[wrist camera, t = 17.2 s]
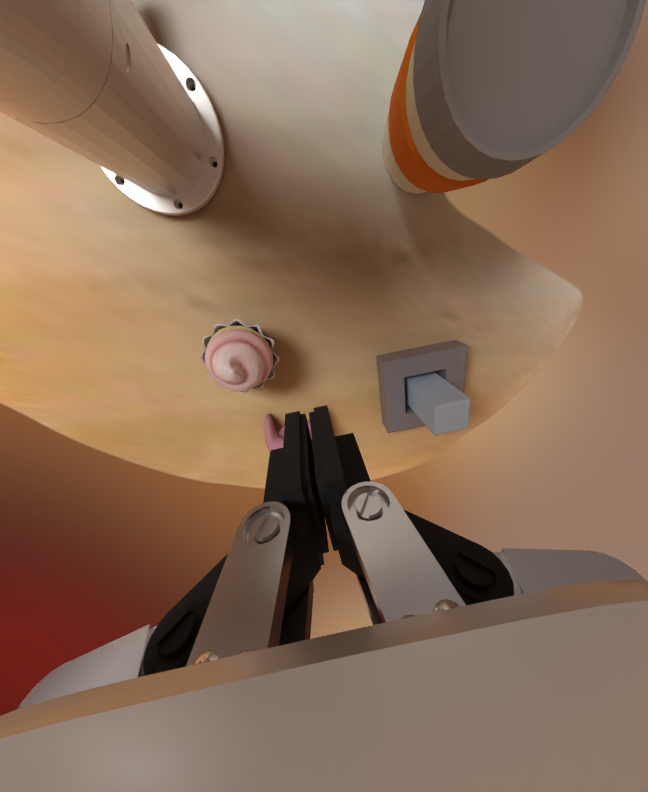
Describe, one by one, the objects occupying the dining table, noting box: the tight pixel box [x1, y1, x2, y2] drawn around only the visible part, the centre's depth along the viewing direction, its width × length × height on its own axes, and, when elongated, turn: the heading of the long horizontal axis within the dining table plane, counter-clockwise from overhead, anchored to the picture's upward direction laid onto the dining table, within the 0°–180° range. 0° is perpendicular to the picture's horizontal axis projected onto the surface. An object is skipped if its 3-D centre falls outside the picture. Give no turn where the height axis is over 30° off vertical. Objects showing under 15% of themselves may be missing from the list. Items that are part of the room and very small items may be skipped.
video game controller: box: [264, 414, 312, 452], centre depth 39 cm, size 10×5×7 cm, turn 96°
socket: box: [377, 340, 467, 433], centre depth 39 cm, size 12×12×3 cm
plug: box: [404, 371, 470, 436], centre depth 36 cm, size 4×4×10 cm
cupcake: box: [201, 319, 280, 394], centre depth 31 cm, size 9×9×10 cm
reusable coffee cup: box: [382, 0, 646, 194], centre depth 21 cm, size 13×13×15 cm
